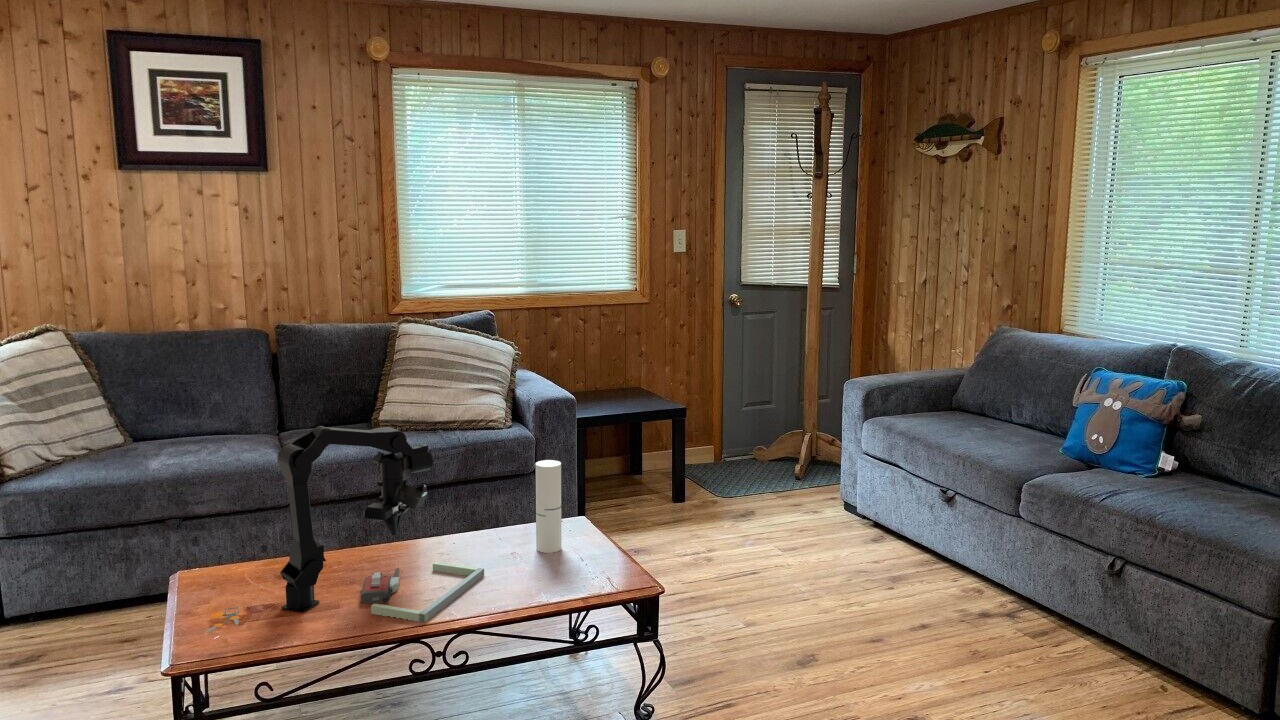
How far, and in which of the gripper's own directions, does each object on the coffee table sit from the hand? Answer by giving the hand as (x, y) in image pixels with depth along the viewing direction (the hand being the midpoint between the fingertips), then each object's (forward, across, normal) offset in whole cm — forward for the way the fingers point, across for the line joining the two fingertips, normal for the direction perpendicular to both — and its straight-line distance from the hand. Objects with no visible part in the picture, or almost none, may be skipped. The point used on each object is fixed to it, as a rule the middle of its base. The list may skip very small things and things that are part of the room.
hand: (394, 535), depth 248 cm
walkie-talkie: (+12, -6, 0) cm, 14 cm away
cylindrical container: (+12, +33, -29) cm, 46 cm away
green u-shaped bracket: (+12, -6, -13) cm, 19 cm away
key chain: (+13, -34, +25) cm, 44 cm away
